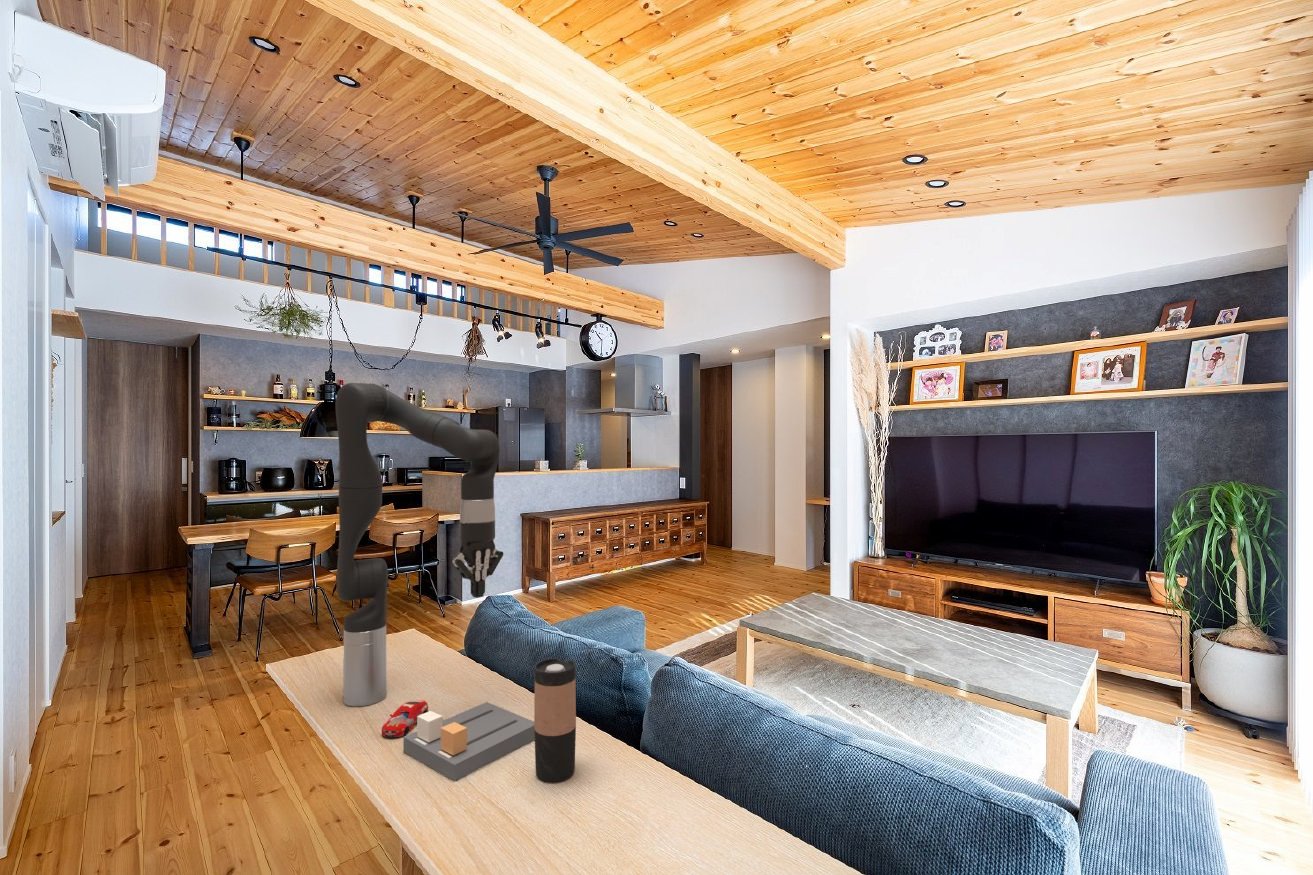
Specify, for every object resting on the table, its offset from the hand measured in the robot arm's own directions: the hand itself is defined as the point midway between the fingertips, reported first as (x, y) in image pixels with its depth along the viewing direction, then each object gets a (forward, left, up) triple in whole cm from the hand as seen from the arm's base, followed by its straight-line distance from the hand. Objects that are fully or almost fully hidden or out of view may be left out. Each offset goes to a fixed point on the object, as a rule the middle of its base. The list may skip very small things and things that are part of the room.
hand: (477, 596), depth 135 cm
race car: (-10, -11, -28) cm, 31 cm away
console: (+9, -8, -27) cm, 30 cm away
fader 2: (+13, -15, -24) cm, 31 cm away
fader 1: (+5, -15, -24) cm, 29 cm away
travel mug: (+30, -5, -27) cm, 41 cm away
